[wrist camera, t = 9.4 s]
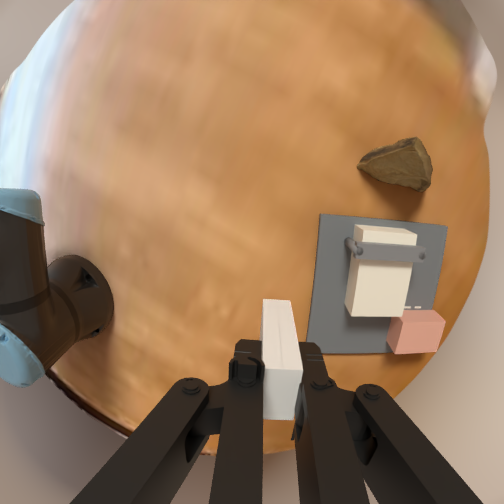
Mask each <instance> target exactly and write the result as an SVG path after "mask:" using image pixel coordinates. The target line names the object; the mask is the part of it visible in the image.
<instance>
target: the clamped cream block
mask: <svg viewBox="0 0 504 504" xmlns="http://www.w3.org/2000/svg"><path fill="white" fill-rule="evenodd" d="M416 241H417V234H415V233H413V232H411V231H408V230H406V229H402V228H392V227H380V226H369V225H356V224H355V226H354V235H353V240H352V239H351V238H350V237H347V238H345V240H344V243H345V245H346V246H347V247H348V248H349V249H350V250H351V251H352V253H351V261H350V268H349V276H348V283H347V290H346V296H345V303H344V304H345V306H346V307H347V309H348V311H349V313H350V315H351V316H366V317H402V315H403V310H404V306H405V301H406V297H407V292H408V287H409V282H410V277H411V271H412V266H413V262H421V263H423V261H424V259H425V258H426V252H425V249H426V248H424V247H423V246H416Z"/></svg>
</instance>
